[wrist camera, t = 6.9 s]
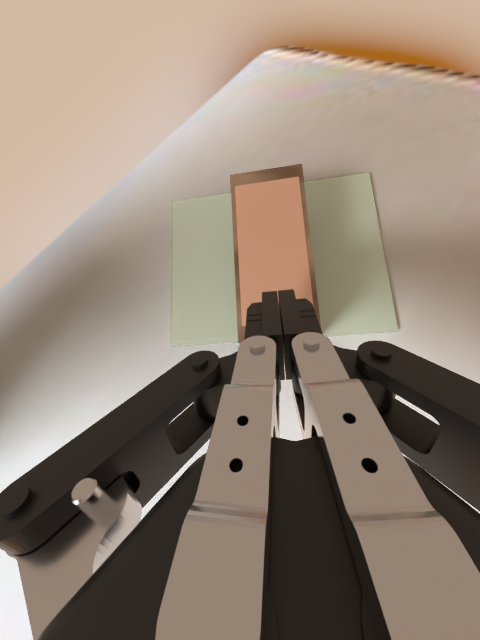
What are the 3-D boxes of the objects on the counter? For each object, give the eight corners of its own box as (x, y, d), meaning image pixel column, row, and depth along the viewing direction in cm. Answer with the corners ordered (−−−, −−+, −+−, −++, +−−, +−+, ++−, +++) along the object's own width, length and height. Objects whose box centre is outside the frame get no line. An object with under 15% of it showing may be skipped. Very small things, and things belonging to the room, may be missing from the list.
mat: (172, 346, 21) (171, 345, 21) (174, 203, 24) (172, 201, 24) (395, 331, 19) (398, 330, 19) (367, 175, 22) (369, 172, 22)
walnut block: (237, 342, 15) (230, 174, 18) (247, 349, 20) (240, 217, 22) (322, 337, 14) (301, 163, 17) (310, 345, 19) (296, 209, 22)
